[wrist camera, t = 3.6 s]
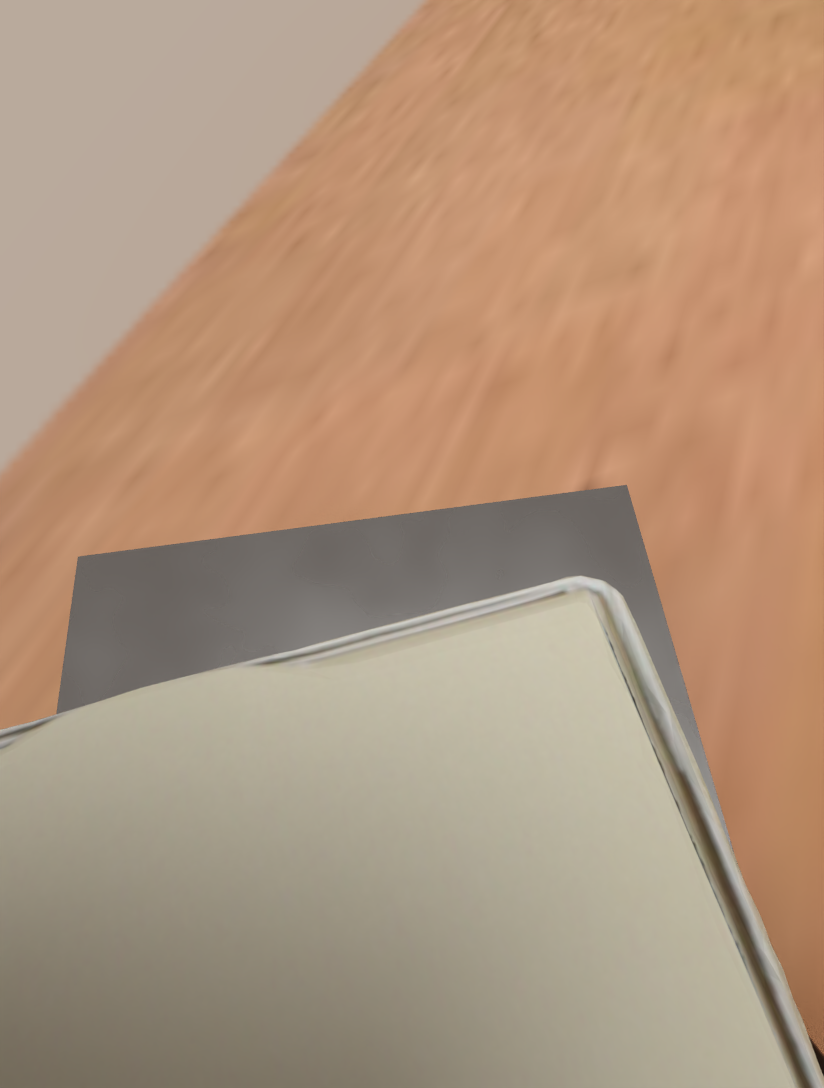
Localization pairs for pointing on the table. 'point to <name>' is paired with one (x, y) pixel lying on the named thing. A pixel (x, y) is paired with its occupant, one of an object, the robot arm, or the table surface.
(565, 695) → the skincare box
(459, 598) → the socket block
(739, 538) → the table surface
